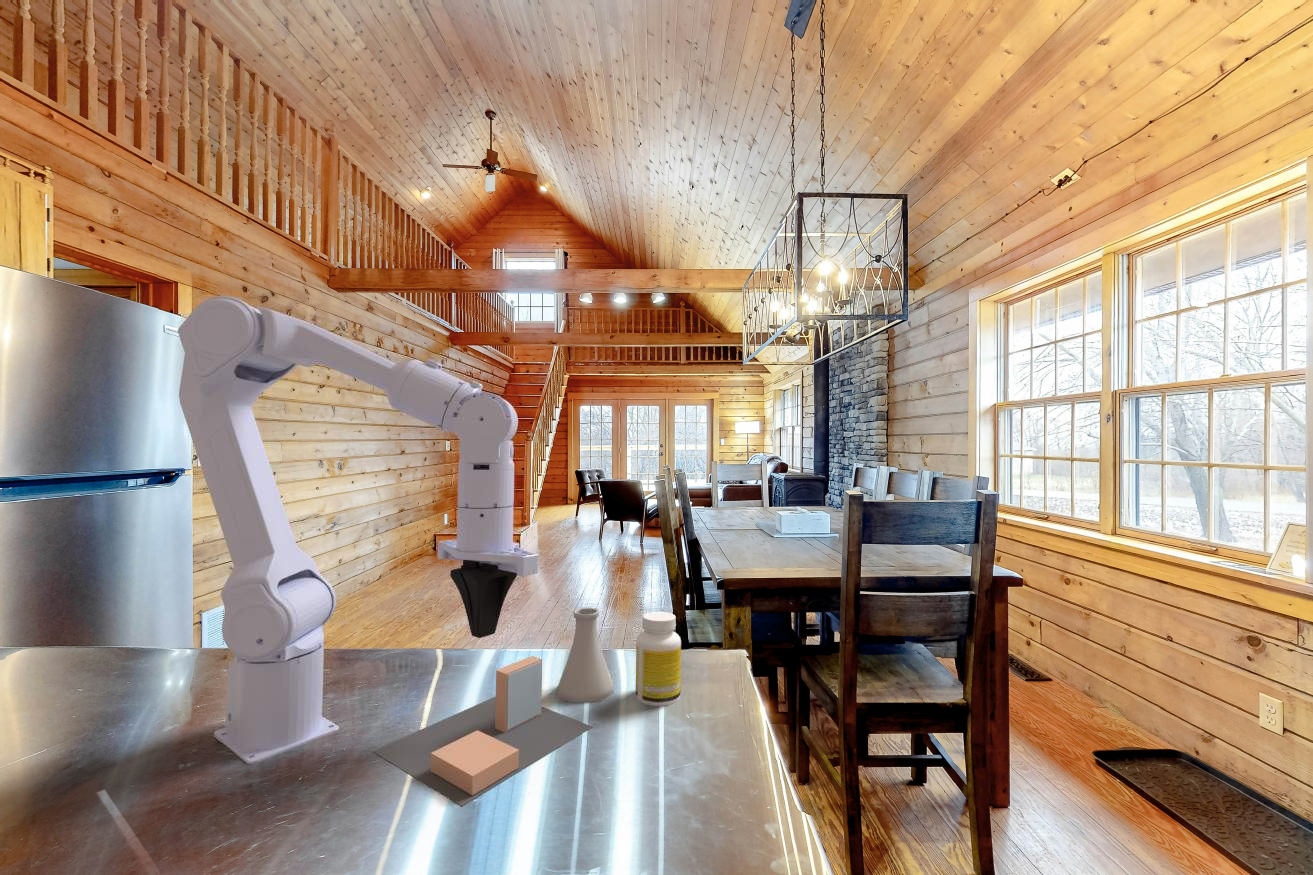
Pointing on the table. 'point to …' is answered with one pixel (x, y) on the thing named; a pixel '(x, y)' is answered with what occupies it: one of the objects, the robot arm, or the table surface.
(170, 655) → the table surface
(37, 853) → the table surface
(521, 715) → the tile
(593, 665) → the flask
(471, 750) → the tile
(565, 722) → the mat
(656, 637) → the supplement bottle
